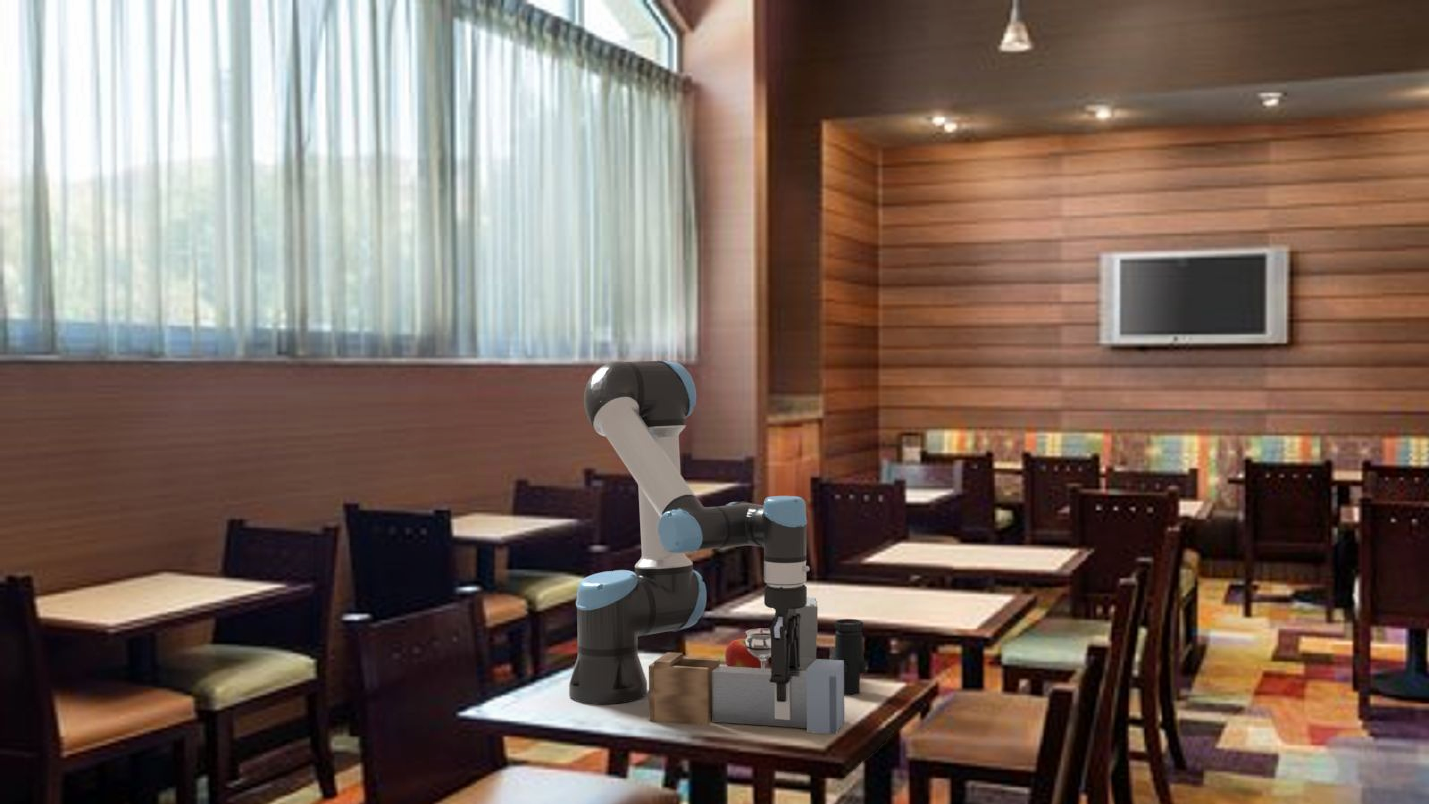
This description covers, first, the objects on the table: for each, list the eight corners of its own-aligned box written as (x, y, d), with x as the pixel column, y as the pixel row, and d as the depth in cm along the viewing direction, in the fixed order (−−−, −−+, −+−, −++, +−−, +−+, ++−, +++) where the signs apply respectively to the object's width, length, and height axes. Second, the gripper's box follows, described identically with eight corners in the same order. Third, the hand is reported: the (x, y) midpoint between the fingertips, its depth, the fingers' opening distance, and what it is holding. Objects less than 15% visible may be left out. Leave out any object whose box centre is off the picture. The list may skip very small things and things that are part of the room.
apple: (750, 674, 272) (749, 626, 272) (773, 682, 265) (772, 632, 265) (717, 679, 267) (717, 630, 267) (740, 687, 261) (739, 637, 260)
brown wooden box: (649, 720, 237) (648, 661, 237) (663, 709, 245) (662, 652, 244) (707, 725, 234) (707, 664, 234) (720, 713, 242) (719, 655, 241)
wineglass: (786, 696, 254) (785, 633, 254) (753, 699, 252) (752, 636, 251) (772, 687, 260) (772, 627, 260) (740, 691, 258) (739, 630, 258)
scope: (828, 615, 262) (875, 619, 257) (829, 684, 263) (876, 690, 258) (811, 622, 255) (859, 627, 250) (812, 693, 255) (860, 699, 251)
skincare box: (782, 672, 274) (781, 595, 273) (817, 671, 273) (816, 595, 273) (783, 682, 265) (782, 603, 265) (819, 681, 265) (818, 603, 264)
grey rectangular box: (712, 722, 236) (711, 671, 235) (719, 715, 240) (719, 665, 240) (828, 730, 230) (827, 678, 229) (833, 723, 234) (832, 672, 234)
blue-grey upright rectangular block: (806, 732, 229) (806, 669, 229) (816, 720, 237) (816, 659, 236) (835, 734, 228) (834, 670, 227) (844, 721, 235) (843, 660, 235)
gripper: (794, 593, 224) (795, 730, 225) (816, 576, 241) (817, 703, 241) (752, 591, 226) (752, 726, 227) (776, 575, 243) (777, 701, 244)
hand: (786, 714), depth 234 cm, fingers closed on grey rectangular box, 4 cm apart
